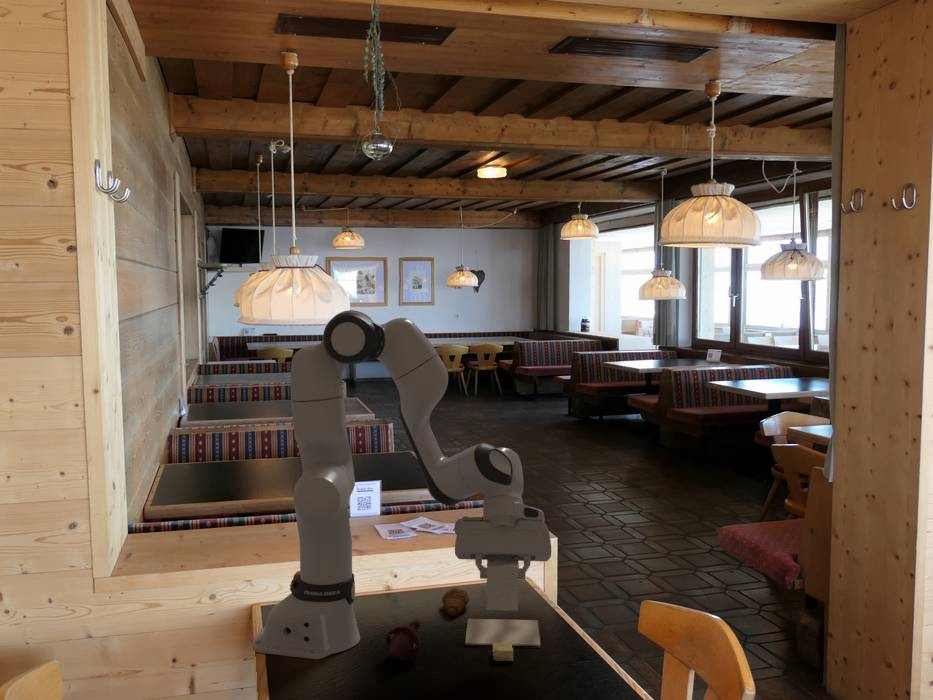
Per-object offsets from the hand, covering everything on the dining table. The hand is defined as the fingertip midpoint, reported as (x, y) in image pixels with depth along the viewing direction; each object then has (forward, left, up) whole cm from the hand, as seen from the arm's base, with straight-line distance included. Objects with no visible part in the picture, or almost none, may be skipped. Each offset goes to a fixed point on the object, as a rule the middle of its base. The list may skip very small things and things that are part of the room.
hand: (502, 578), depth 162 cm
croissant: (-11, +27, -17) cm, 34 cm away
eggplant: (-20, -1, -17) cm, 27 cm away
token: (0, +1, -17) cm, 17 cm away
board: (0, +12, -17) cm, 21 cm away
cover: (0, +1, -6) cm, 6 cm away
